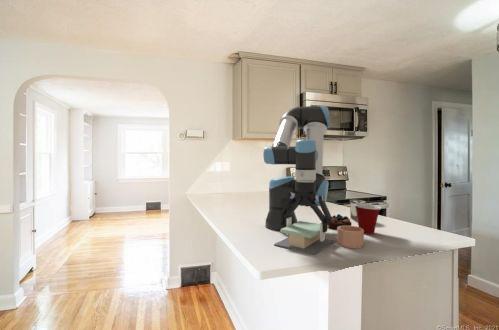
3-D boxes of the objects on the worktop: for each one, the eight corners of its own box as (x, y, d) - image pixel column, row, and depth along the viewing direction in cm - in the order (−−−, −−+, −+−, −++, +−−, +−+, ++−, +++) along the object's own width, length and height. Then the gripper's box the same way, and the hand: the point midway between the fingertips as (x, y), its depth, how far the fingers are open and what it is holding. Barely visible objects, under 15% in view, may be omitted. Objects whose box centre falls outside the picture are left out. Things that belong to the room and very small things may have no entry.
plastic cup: (384, 237, 113) (384, 207, 113) (356, 235, 115) (356, 206, 115) (377, 230, 124) (377, 203, 123) (352, 228, 126) (352, 202, 125)
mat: (274, 245, 102) (274, 232, 102) (296, 234, 116) (296, 222, 116) (315, 254, 92) (315, 239, 92) (334, 241, 107) (334, 228, 106)
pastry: (326, 229, 125) (327, 216, 125) (326, 223, 137) (326, 211, 136) (352, 231, 122) (352, 218, 122) (350, 225, 134) (350, 213, 134)
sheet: (280, 232, 101) (280, 229, 101) (300, 223, 114) (300, 221, 114) (311, 238, 94) (311, 234, 94) (328, 228, 107) (328, 225, 107)
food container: (370, 223, 136) (371, 203, 136) (358, 223, 136) (358, 203, 136) (361, 217, 148) (361, 199, 148) (349, 217, 149) (349, 199, 148)
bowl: (333, 245, 102) (334, 229, 102) (341, 239, 109) (342, 224, 109) (359, 250, 97) (359, 233, 97) (365, 243, 104) (366, 227, 104)
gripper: (271, 180, 108) (271, 234, 109) (334, 183, 93) (334, 246, 94) (281, 178, 114) (281, 230, 115) (342, 182, 99) (341, 240, 100)
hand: (305, 237), depth 104 cm, fingers open, 13 cm apart
